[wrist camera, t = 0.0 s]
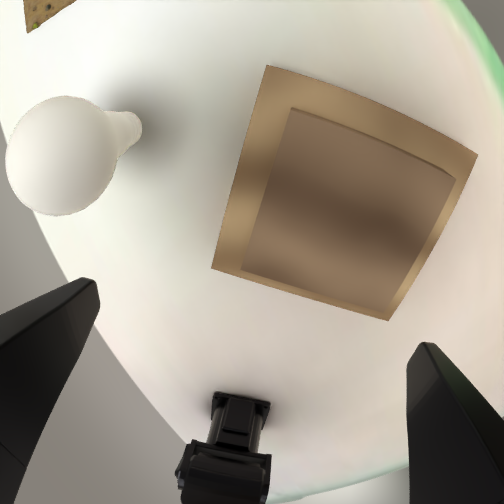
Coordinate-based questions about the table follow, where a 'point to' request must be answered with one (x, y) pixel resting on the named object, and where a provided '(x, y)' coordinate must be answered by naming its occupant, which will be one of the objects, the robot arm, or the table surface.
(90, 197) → the lightbulb
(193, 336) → the table surface
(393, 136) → the plinth
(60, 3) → the cookie
